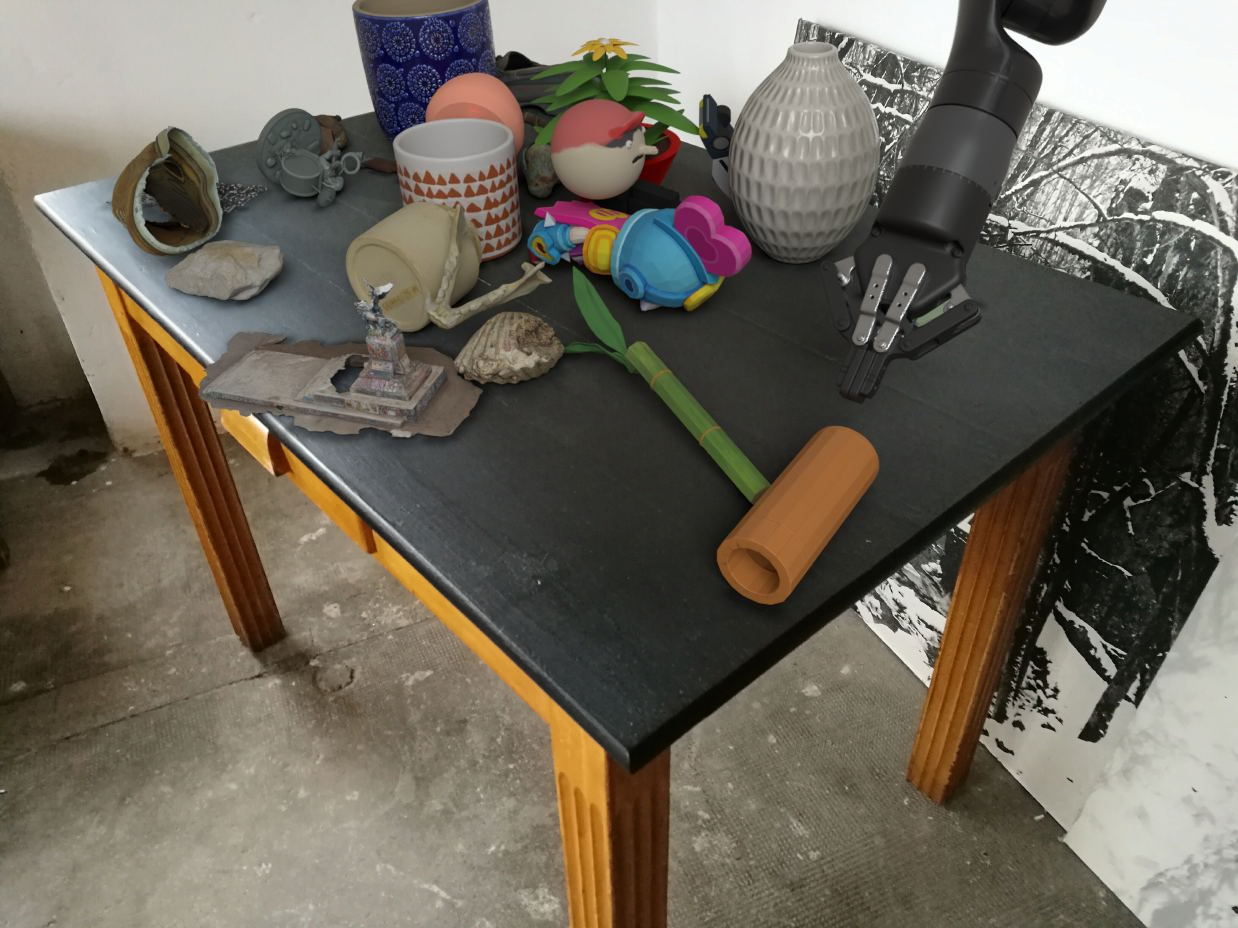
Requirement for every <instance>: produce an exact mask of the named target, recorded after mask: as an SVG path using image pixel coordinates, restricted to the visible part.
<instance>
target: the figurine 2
mask: <svg viewBox="0 0 1238 928" xmlns="http://www.w3.org/2000/svg"><path fill="white" fill-rule="evenodd" d="M313 116H314V117H315V118H316V120H317V121H318V123H319V125H320V127H321V131H322V146H321V150H320V154H319V156H322V155H323V154H325V153H327V151H328V150H332V147H333V144H334V142H335V140H336V139H337V138H340V140H339V141H338V150H340V151H341V150H342V149H344V148H345V146H346V145H347V142H348V136H347V134H346V131H345V129H344V128H343V126H342V124H341V123H340V122H342V116H341V115H339V114H336V115H331V114H330V115H329V114H317V115H313ZM329 160H330V161H331V158H330V159H329Z"/></svg>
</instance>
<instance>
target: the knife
mask: <svg viewBox="0 0 1238 928" xmlns="http://www.w3.org/2000/svg"><path fill="white" fill-rule="evenodd" d="M360 163H361V166H360V168H363V169H364V168H369V169H373V170H374V171H377V172H382V173H387V174H392V173H397V174H398V172H397V166H396V160H392V159H386V158H382V157H375V156H365V157H364V160H363V161H361V160H360Z"/></svg>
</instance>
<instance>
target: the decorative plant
mask: <svg viewBox="0 0 1238 928" xmlns="http://www.w3.org/2000/svg"><path fill="white" fill-rule="evenodd" d="M572 285H573V293H574V298H575V301H576V304H577V306H578V308H579V310H580V313H581V315H582V317H583V318H584V320H585V322H586V324H587V326H588V327H589V329H590V330H591V332H592V333H593V334H594V335H595V336H596V338H598V339H599V340H600V341H601V342H602V343H604V345H606V346H607V347H610V348H611V349H613V350H614V351H615V352H612V351H610V350H608V349H607V348H605V347H604V346H602V345H600V344H598V343H589V342H588V343H587V342H579V341H575V342H571V343H570V344H568V345H566V346H563V347H564V351H563V354H579V353H581V354H582V353H590V352H591V353H596V354H599V355H607V356H609V357H610V358H612V359H613V360H614V361H617V362H618V363H620V364H622V365H624V366H625V368H626V370H627V371H628V372H629V373H630V374H636V375H638V374H639V375H641V376H642V377H643V378H644V380H645V381H646V382H647V383H648V384H649V386H650V390H651V391H654V392H656V394H657V395H658V396H659V397H660V398H661V399H662V401H663V402H664V403H665V404H666V405H667V407H668V408H669V409H670V410H671V411H672V412H673V413H674V415H675V416H676V417H677V419H679V421H680V422H681V423H682V424H683V425H684V427H686V429H687V430H688V431H689V432H690V434H692V436H693V437H694V438H695V439H696V440H697V442H698V444H699V446H700V447H701V448H704V450H705V451H706V452H707V454H708V455H710V457H711V458H712V459H713V460H714V461H715V462H716V464H717V465H718V467H720V468H721V470H722V471H723V472H724V474H725V475H726V476H727V477H728V478H729V479H730V480H731V482H732V483H734V485H735V486H736V488H738V489H739V491H740V492H741V493H742V494H743V495H744V497H745V498H746V499H747V500H748V501H749V503H751V504H752V505H753V506H754V505H755V503H756V502H757V501H758V500H759V499H760V498H761V496H762V495H763V494H764V493H765V492H766V491H767V489H768V488H769V487H770V486H771V485H772V484H771V483H770V482H769V481H768V479H766V477H765V476H764V475H763V474H762V473H761V472H760V471H759V469H758V468H757V467H756V466H755V465H754V464H753V463H752V461H750V460H749V458H748V457H747V456H746V455H745V453H744V452H743V451H742V450H741V449H740V448H739V447H738V446H737V445H736V444H735V443H734V441H733V440H732V439H731V438H730V437H729V436H728V434H727V433H726V432H725V431H724V430H723V429H722V427H721V426H719V424H718V423H717V422H716V421H715V420H714V419H713V418H712V416H711V415H710V414H709V413H708V411H706V409H704V407H703V406H702V405H701V404H700V403H699V402H698V401H697V400H696V398H695V397H694V396H693V395H692V394H691V393H690V391H689V390H687V388H686V387H685V386H684V385H683V384H682V382H681V381H680V380H679V379H678V378H677V377H676V376H675V374H673V373H674V372H673V371H672V370H670V369H669V368H668V366H667V365H666V364H665V363H664V362H663V360H661V359H660V358H659V357H658V356H657V354H656V353H655V352H654V351H653V350H652V349H651V348H650V346H649V345H648V344H647V343H646V342H645V341H639V340H637V341H636V342H634V343H633V344H631V345H630V346H628V348H627V344H626V340H625V335H624V333H623V331H622V327H621V325H620V324H619V322H618V321H617V320H616V319H615V318H614V317H613V315H612V313H611V312H610V311H609V309H608V307H607V306H606V304H605V302H604V301H603V299H602V298H601V296H600V295H599V293H598V292H597V290H596V288H595V286H594V285H593V284H592V282H591V281H590V280H589V279H588V278H587V277H586V276H585V274H584V273H583V272H581V271H580V270H579V269H578V268H577V267H575V266H574V265H573V266H572Z"/></svg>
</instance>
